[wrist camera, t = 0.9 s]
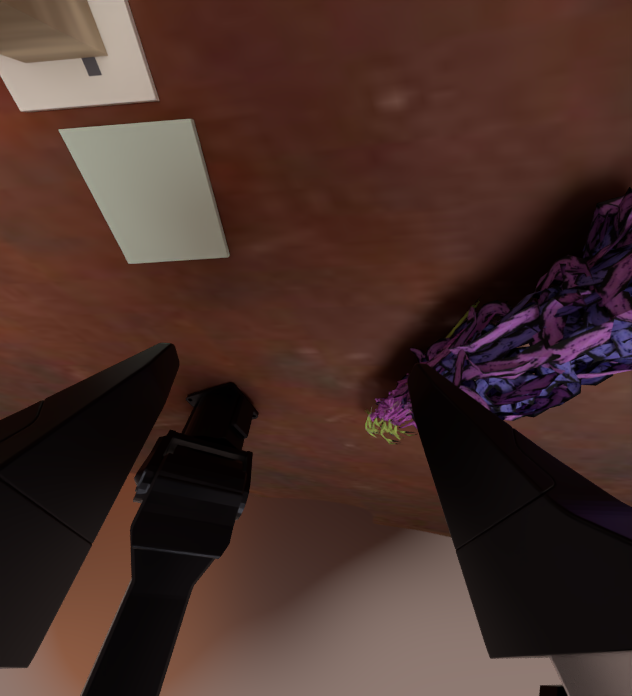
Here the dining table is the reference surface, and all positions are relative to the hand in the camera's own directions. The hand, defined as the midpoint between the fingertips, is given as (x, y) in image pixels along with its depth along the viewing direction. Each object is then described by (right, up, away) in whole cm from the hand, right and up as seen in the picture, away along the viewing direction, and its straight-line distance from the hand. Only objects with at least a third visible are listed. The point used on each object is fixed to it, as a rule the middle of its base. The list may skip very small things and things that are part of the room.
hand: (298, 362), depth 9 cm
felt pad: (-10, +11, +8) cm, 17 cm away
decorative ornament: (+16, +2, +16) cm, 23 cm away
